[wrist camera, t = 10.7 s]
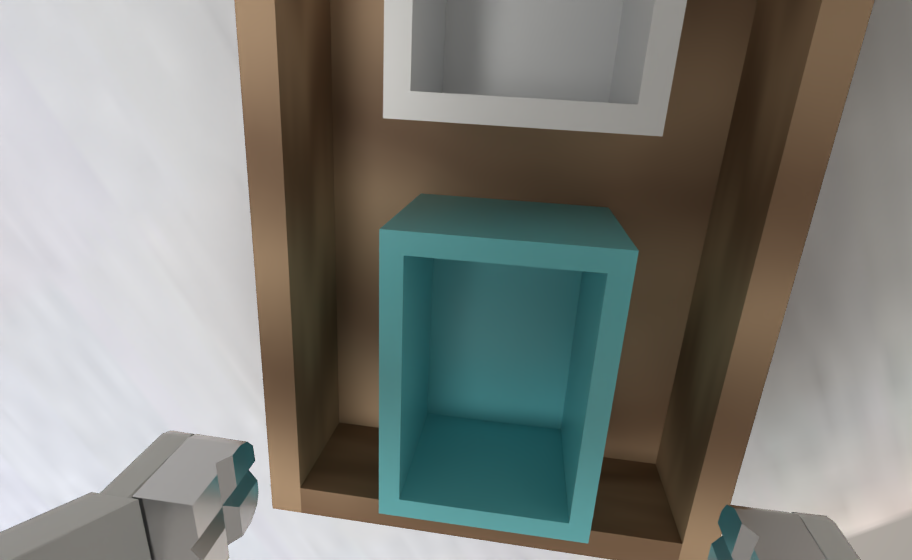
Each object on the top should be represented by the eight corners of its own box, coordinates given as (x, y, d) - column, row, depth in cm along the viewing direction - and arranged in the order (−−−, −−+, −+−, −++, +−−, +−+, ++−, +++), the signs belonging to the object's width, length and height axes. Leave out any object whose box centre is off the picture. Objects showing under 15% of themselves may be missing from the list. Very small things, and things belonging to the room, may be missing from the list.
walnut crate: (298, -299, 14) (199, -466, 10) (858, -311, 13) (1022, -517, 8) (322, 429, 22) (272, 508, 18) (672, 475, 20) (710, 574, 16)
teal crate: (420, 193, 17) (379, 229, 13) (608, 207, 17) (638, 250, 12) (414, 416, 20) (378, 513, 15) (574, 435, 19) (588, 543, 15)
